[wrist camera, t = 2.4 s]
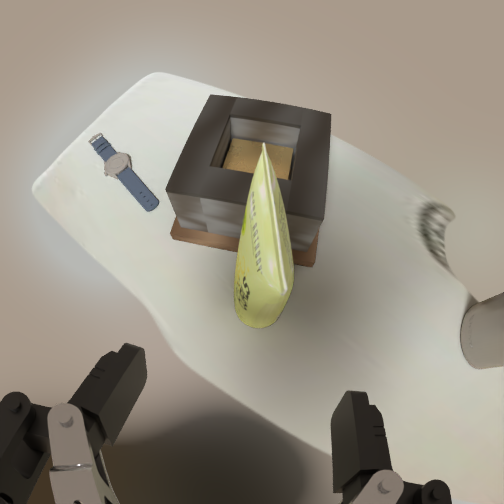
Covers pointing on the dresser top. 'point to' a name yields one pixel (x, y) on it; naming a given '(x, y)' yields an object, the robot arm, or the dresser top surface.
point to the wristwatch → (123, 172)
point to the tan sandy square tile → (257, 157)
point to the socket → (238, 182)
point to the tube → (263, 251)
